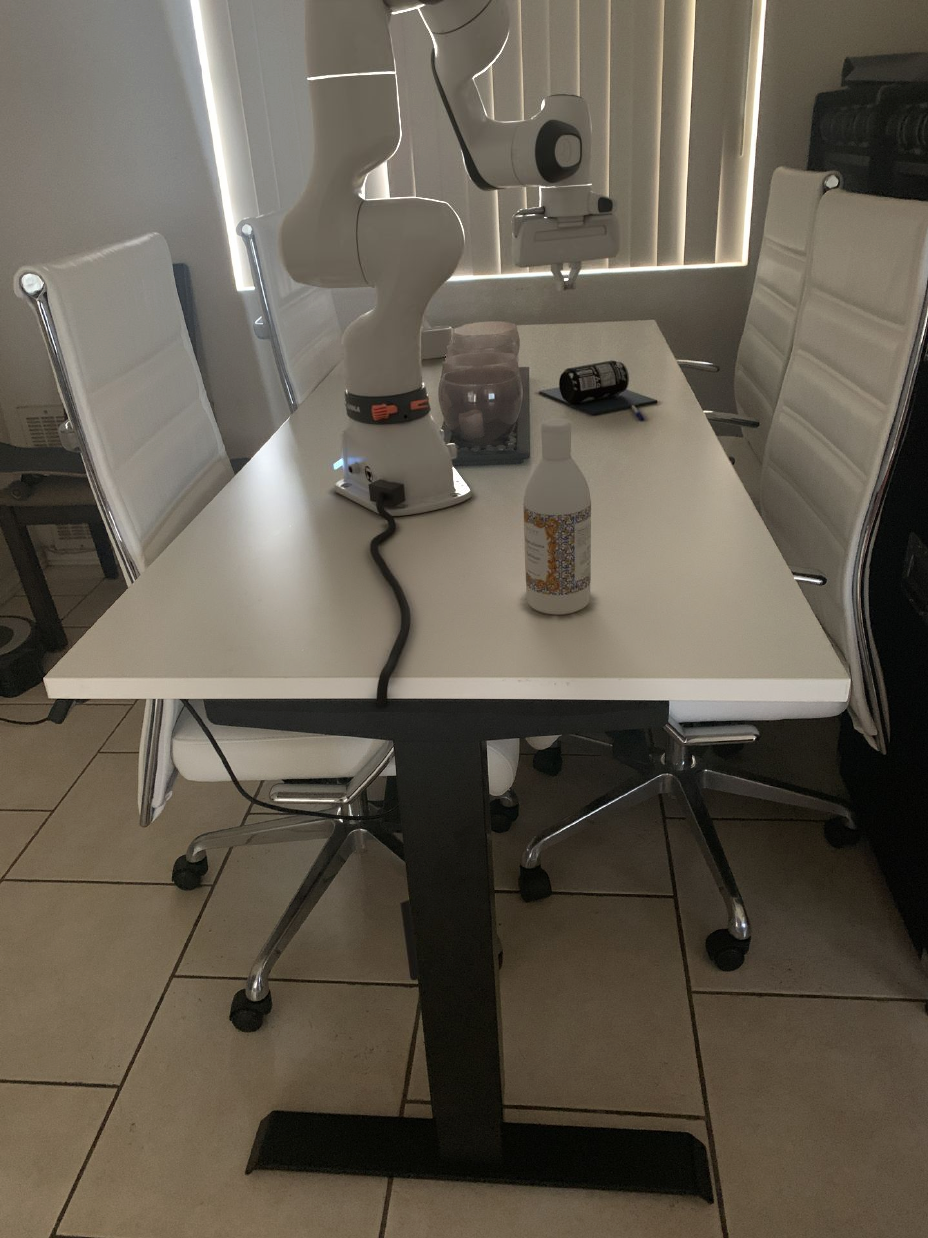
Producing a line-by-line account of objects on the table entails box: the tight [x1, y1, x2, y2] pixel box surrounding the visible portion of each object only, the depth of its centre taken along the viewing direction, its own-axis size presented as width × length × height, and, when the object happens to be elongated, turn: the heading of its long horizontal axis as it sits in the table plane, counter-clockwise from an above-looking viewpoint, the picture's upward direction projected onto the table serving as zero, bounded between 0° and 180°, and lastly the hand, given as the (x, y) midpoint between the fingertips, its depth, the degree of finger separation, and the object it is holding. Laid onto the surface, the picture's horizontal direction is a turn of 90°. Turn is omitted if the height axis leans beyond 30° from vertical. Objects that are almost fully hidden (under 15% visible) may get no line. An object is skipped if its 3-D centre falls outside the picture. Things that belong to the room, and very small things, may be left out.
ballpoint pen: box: [630, 405, 645, 422], centre depth 160 cm, size 10×1×1 cm, turn 3°
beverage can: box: [558, 359, 630, 404], centre depth 166 cm, size 7×7×12 cm
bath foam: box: [522, 418, 592, 616], centre depth 92 cm, size 7×7×20 cm
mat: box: [538, 386, 658, 416], centre depth 170 cm, size 20×14×1 cm
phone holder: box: [421, 314, 453, 361], centre depth 214 cm, size 17×10×18 cm, turn 15°
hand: (566, 289), depth 158 cm, fingers closed
